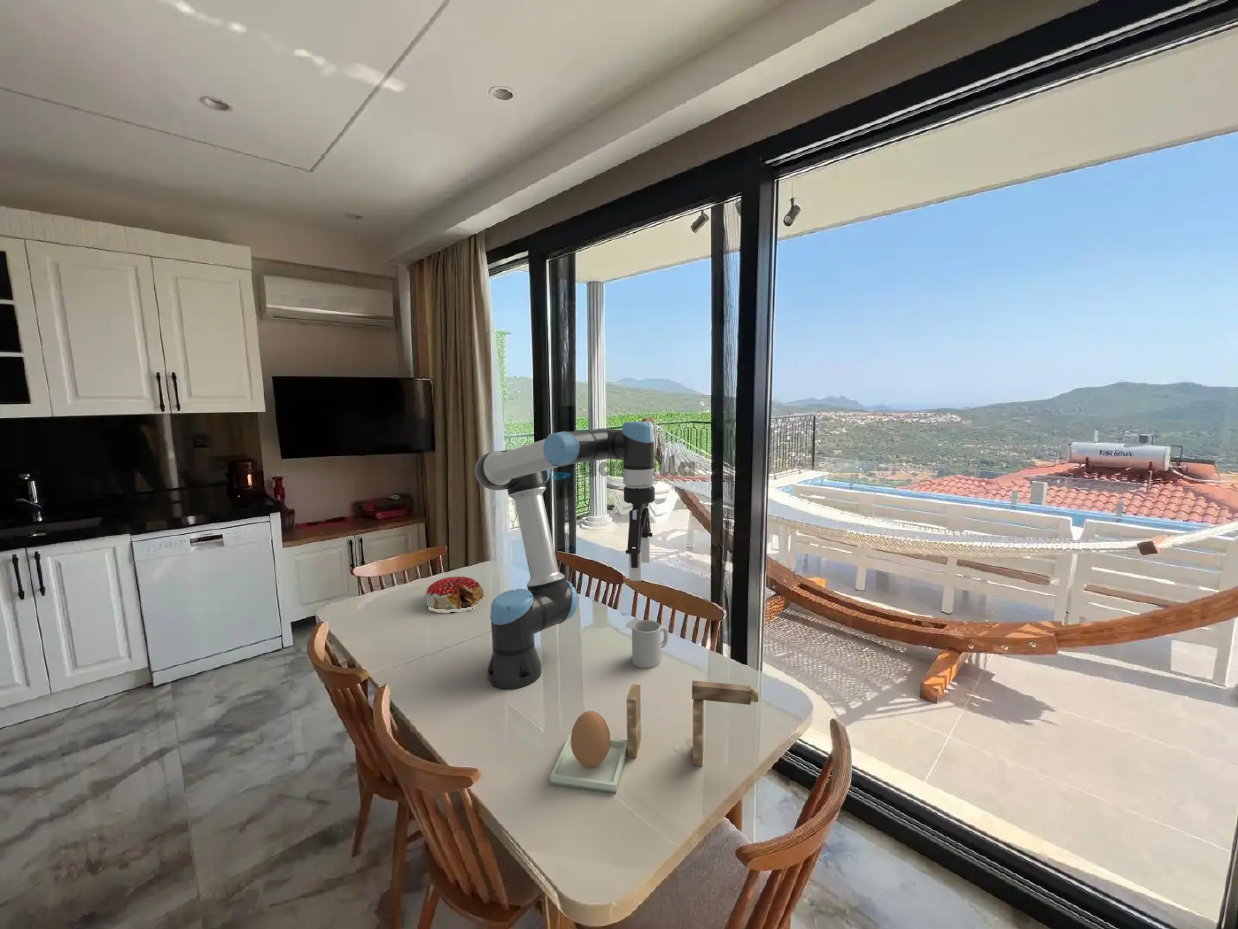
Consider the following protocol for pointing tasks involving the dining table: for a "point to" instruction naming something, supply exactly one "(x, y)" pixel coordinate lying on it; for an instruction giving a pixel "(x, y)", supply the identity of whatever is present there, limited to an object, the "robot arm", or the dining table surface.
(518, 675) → the robot arm
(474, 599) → the cake
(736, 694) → the wooden crossbeam
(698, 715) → the wooden post pair
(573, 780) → the dish
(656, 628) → the mug
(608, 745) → the egg
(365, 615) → the dining table surface
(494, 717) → the dining table surface
